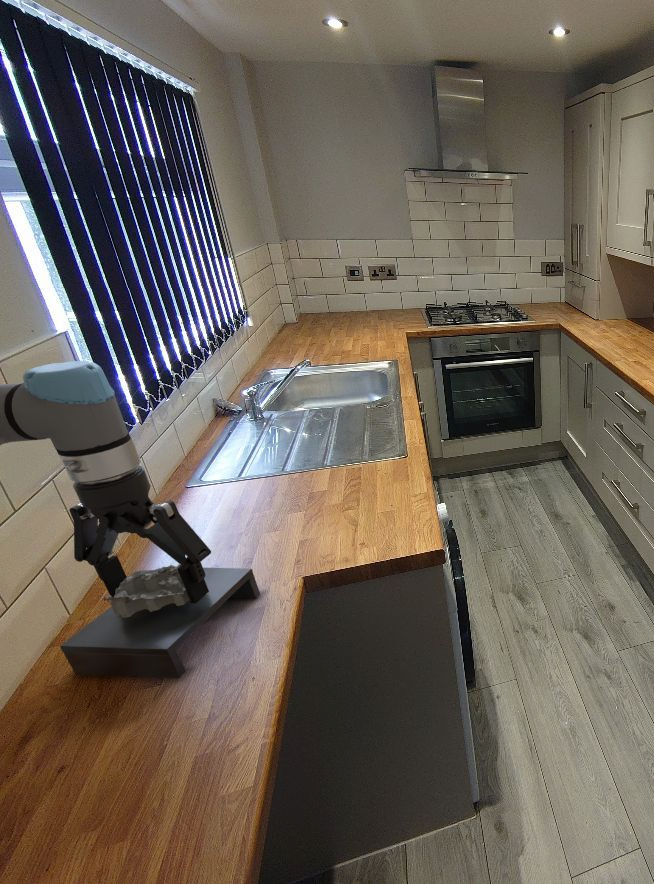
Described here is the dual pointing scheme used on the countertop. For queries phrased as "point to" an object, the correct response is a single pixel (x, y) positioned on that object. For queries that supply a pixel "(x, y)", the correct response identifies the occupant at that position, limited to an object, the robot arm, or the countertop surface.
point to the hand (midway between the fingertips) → (161, 596)
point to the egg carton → (148, 591)
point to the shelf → (152, 631)
